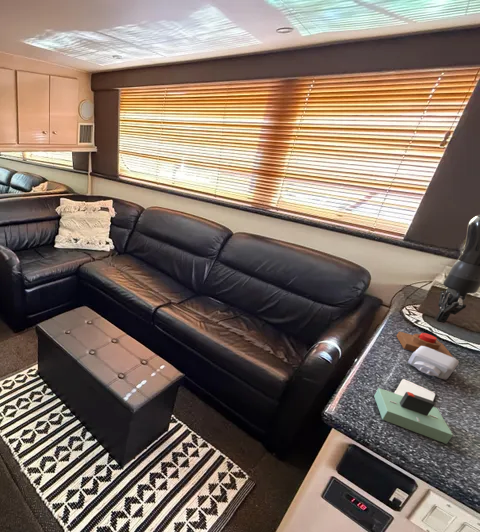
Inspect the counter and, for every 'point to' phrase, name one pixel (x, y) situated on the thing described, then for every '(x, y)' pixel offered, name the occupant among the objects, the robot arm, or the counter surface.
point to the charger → (433, 362)
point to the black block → (416, 403)
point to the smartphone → (414, 390)
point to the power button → (428, 337)
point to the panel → (412, 417)
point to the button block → (419, 343)
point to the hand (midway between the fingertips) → (439, 321)
